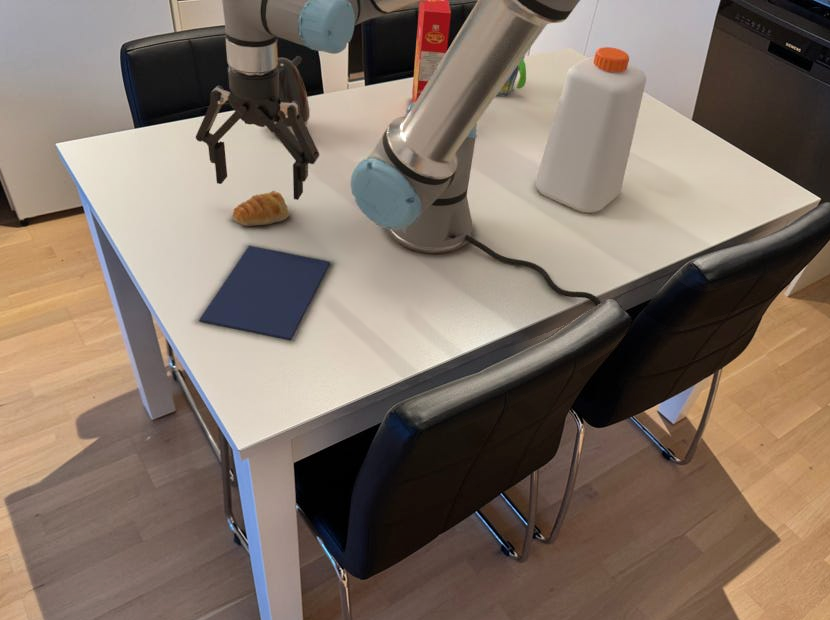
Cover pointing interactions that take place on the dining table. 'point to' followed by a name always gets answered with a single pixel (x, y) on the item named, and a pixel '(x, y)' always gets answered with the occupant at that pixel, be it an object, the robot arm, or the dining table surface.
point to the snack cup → (511, 80)
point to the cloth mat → (266, 292)
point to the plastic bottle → (592, 132)
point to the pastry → (261, 210)
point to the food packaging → (430, 41)
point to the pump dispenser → (292, 88)
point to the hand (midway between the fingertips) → (260, 188)
